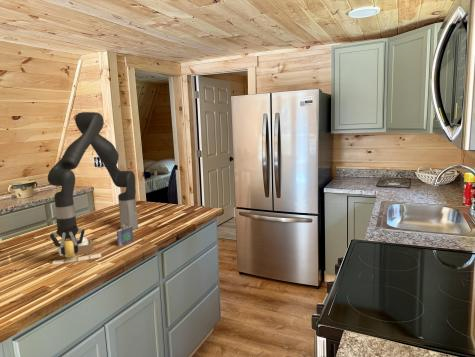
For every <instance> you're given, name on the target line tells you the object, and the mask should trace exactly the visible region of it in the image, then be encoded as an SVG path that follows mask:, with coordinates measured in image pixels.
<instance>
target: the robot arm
mask: <svg viewBox="0 0 475 357" xmlns="http://www.w3.org/2000/svg"><path fill="white" fill-rule="evenodd" d="M74 122H75V125H76V128H77V129H78V131H79V132H80V133H81V135H80V136H79V137H78V138H77V139H75V140H74V141H73V142H71V143H70V144H69V146H68V147H67V148H65V151H64V153H63V154H62V157H61V159H60V160H59V161H57V162H56V164H55V165H53V166H52V168H51V169H50V170H49V172H48V174H47V182H48V184H50V185H51V186H53V187H61V190H59V191H57V192H55V194H54V198H53V199H54V205H55V210H54V211H55V219H56V220H55V221H56V231H55V232H50V235H49V237H50V239H51V240H52V242H53V245H54V246H55V247H56V248H58V247H60V248H61V254H63V255H62V256H64V257H65V250H64V241H65V240H66V239H72V241H73V243H74V251H75V254H77V252H78V244H81V243H82V240H83V237H85V236H84V235H85V233H86V232H85V231H86V230H85V228H81V229H80V228H79V227H78V224H77V216H76V214H77V212H76V208H75V205H74V204H75V202H74V191H75V184H76V175H75V173H74V171H72V170H75V169H77V168H78V166H79V164H80V162H81V160H82V158H83V156H84V154H85V153H86V152H87V149H88V148H89V147H90V146H91V148H92V149H93V150H94V151H95V153H96V155H97V156H98V158H99V159H100V161H101V162H102V165H104V167H105V169H106V170H107V172H108V174H109V177H110V178H111V181H112V182H113V184H114V185H115V187H117V188H125V191H123V192H122V193H119V194H118V196H117V198H118V208H119V209H118V210H119V220H120V222H119V223H120V229H122V226H121V225H123V224H124V225H125V226H132V231H133V230H136V229H139V221H138V212H137V202H136V190H137V189H136V175H135V172H134V171H132V170H120V168H119V167H118V165H117V164H118V162H119V152H118V150H117V149H116V147H115V146H114V144H113V143H112V142H111V141H110V140H109V139H107V138H105V136H102V134H101V131H102V129H103V128H104V124H105V122H104V117H103V115H102V114H101V113H100V112H95V111H94V112H93V111H91V112H90V111H82V112H78V113H77V114H76V115H75V117H74ZM77 233H78V235H79V237H80V239H79V240H78V241H77V239H78V238H77V237H76V236H77ZM57 236H59V237H60V238H61V240H60V241H59V240H58V238H57Z"/></svg>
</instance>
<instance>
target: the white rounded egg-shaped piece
mask: <svg viewBox="0 0 475 357" xmlns="http://www.w3.org/2000/svg"><path fill="white" fill-rule="evenodd" d="M76 239H77V241H78V240H79V239H80V236H79V237H78V238H76ZM88 240H89V239H88V238H87V237H85V236H83V240H82V243H81V244H78V246H83V245H89V243H88Z"/></svg>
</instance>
